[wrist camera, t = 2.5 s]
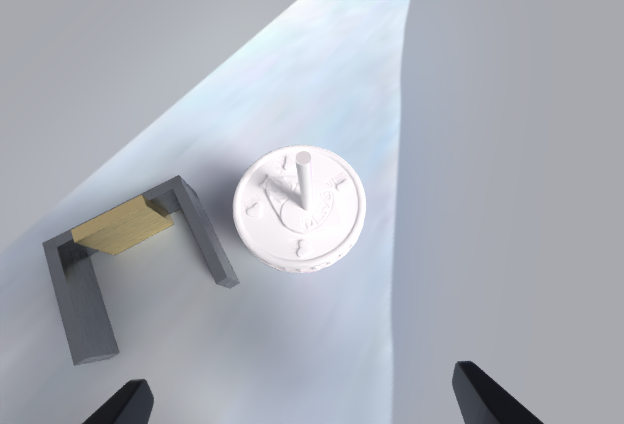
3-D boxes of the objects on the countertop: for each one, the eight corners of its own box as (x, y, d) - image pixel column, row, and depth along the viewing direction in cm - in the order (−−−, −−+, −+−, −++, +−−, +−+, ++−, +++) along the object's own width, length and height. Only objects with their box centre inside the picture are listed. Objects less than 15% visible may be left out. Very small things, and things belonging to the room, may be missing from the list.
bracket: (239, 283, 22) (222, 275, 18) (108, 359, 20) (60, 367, 17) (195, 191, 25) (172, 168, 21) (76, 252, 23) (29, 239, 19)
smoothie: (321, 308, 21) (320, 288, 8) (250, 262, 22) (150, 178, 9) (363, 236, 23) (421, 122, 10) (296, 197, 24) (266, 51, 11)
